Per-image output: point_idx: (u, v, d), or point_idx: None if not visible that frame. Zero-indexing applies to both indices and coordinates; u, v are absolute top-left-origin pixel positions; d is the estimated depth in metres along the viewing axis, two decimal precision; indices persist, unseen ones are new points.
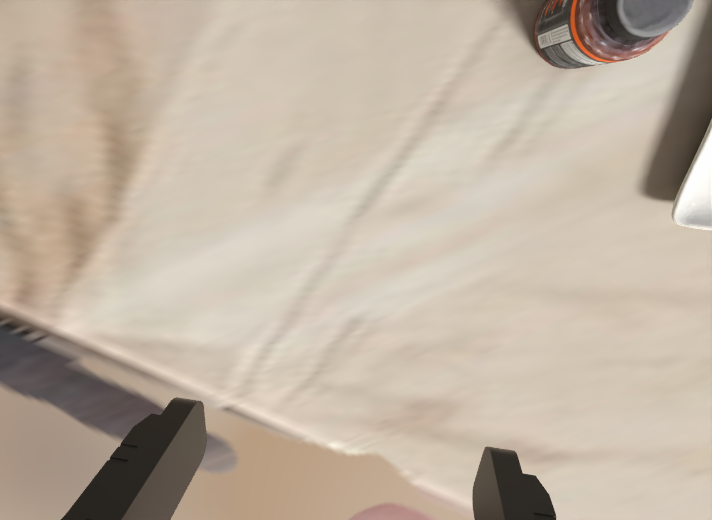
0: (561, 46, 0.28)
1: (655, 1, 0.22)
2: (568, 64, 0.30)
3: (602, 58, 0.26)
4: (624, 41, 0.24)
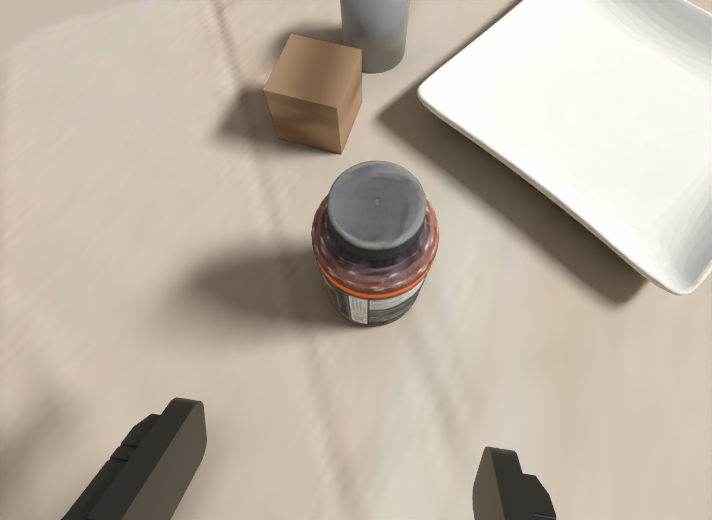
0: (373, 310, 0.21)
1: (380, 207, 0.16)
2: (402, 309, 0.23)
3: (412, 282, 0.18)
4: (406, 254, 0.17)
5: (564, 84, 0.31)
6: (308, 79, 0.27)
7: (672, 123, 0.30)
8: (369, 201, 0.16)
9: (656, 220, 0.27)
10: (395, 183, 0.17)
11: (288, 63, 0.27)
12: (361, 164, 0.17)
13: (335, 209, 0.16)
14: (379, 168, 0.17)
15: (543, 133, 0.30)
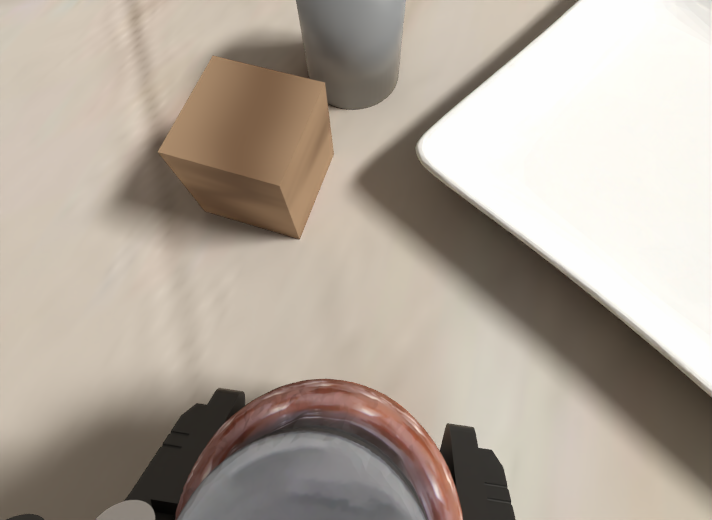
0: None
1: None
2: None
3: None
4: None
5: (640, 130, 0.21)
6: (235, 133, 0.16)
7: None
8: None
9: None
10: (353, 518, 0.06)
11: (204, 105, 0.17)
12: (263, 447, 0.06)
13: None
14: (311, 464, 0.06)
15: (613, 210, 0.19)
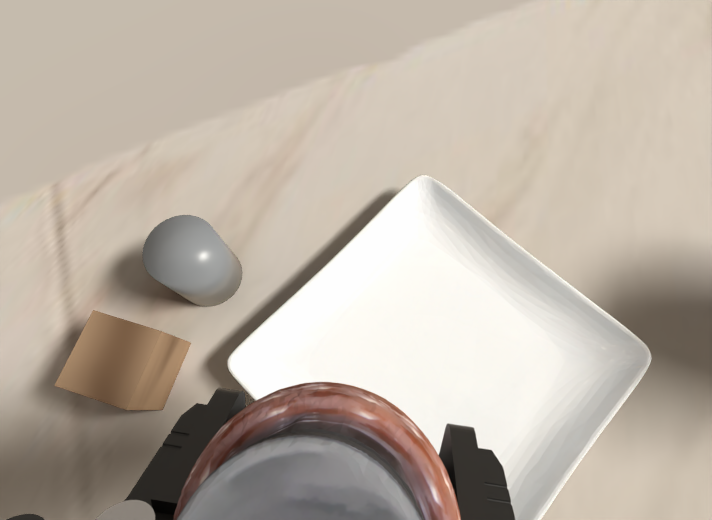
0: None
1: None
2: None
3: None
4: None
5: (392, 327, 0.31)
6: (102, 371, 0.26)
7: (494, 375, 0.30)
8: None
9: None
10: None
11: (85, 350, 0.27)
12: (261, 452, 0.06)
13: None
14: (309, 468, 0.06)
15: None
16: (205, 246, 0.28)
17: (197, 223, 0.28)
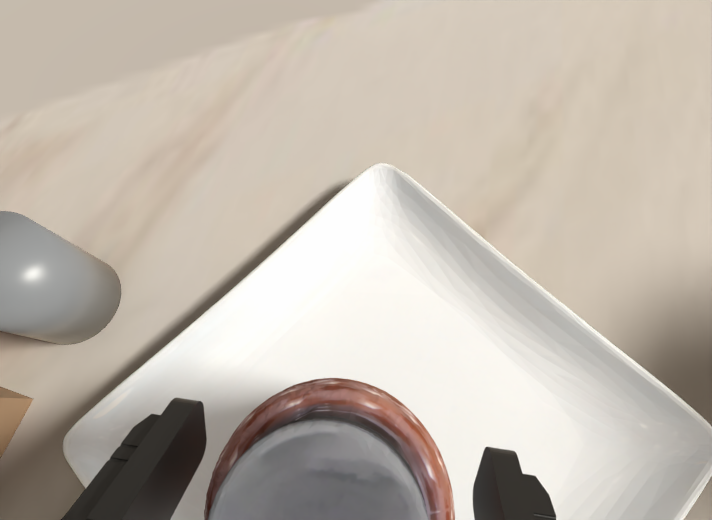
0: None
1: None
2: None
3: None
4: None
5: None
6: None
7: (476, 463, 0.20)
8: None
9: None
10: (360, 488, 0.07)
11: None
12: (286, 433, 0.08)
13: None
14: (325, 445, 0.08)
15: None
16: (24, 260, 0.18)
17: (19, 224, 0.18)
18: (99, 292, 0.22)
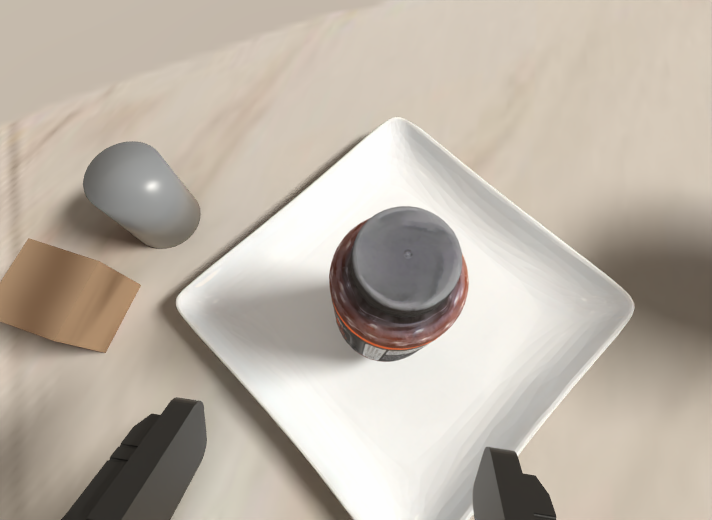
0: (389, 354, 0.20)
1: (412, 261, 0.15)
2: None
3: (437, 337, 0.17)
4: (434, 310, 0.16)
5: None
6: (32, 300, 0.24)
7: (464, 326, 0.28)
8: (400, 254, 0.15)
9: (423, 454, 0.25)
10: (429, 234, 0.15)
11: (16, 278, 0.25)
12: (391, 210, 0.15)
13: (361, 261, 0.15)
14: (411, 215, 0.15)
15: (322, 337, 0.28)
16: (150, 173, 0.26)
17: (145, 150, 0.26)
18: (189, 207, 0.30)
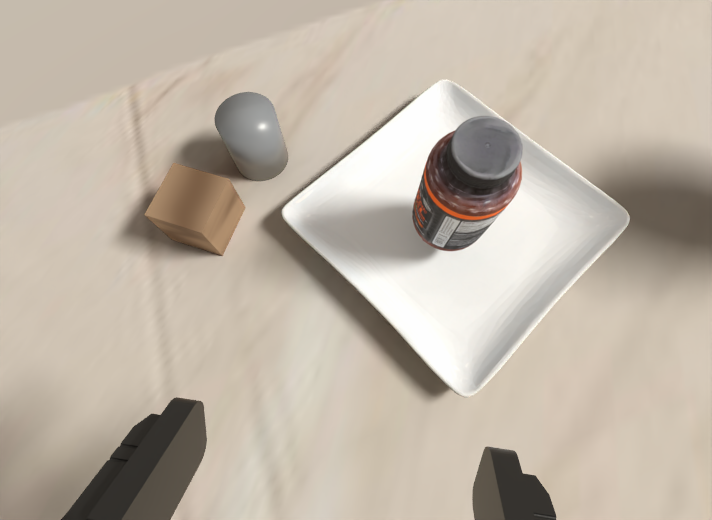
0: (458, 232, 0.28)
1: (490, 149, 0.23)
2: (475, 237, 0.30)
3: (498, 210, 0.25)
4: (499, 187, 0.24)
5: None
6: (182, 205, 0.33)
7: (499, 236, 0.36)
8: (482, 144, 0.23)
9: (470, 325, 0.33)
10: (502, 134, 0.23)
11: (167, 190, 0.33)
12: (478, 117, 0.23)
13: (457, 147, 0.23)
14: (491, 121, 0.23)
15: (390, 244, 0.36)
16: (265, 114, 0.34)
17: (259, 98, 0.35)
18: (284, 147, 0.38)
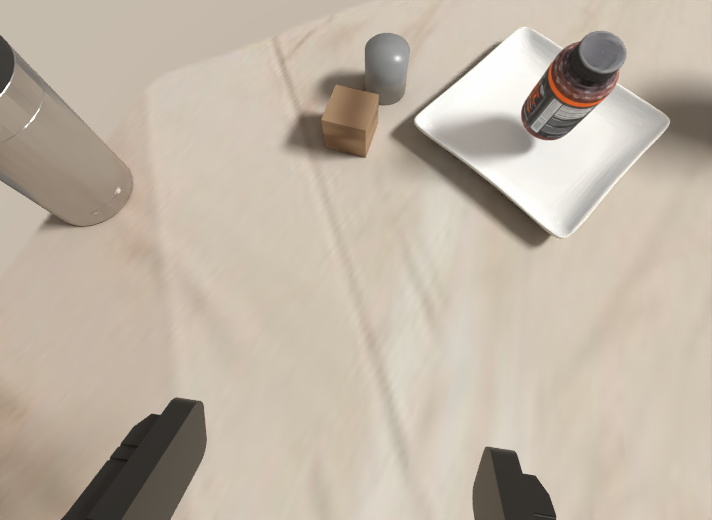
0: (555, 116, 0.41)
1: (604, 54, 0.35)
2: (563, 128, 0.42)
3: (591, 102, 0.38)
4: (599, 84, 0.36)
5: (507, 114, 0.50)
6: (347, 113, 0.45)
7: (572, 139, 0.49)
8: (600, 49, 0.35)
9: (556, 198, 0.46)
10: (615, 46, 0.35)
11: (335, 103, 0.45)
12: (604, 31, 0.35)
13: (583, 46, 0.35)
14: (611, 37, 0.35)
15: (492, 145, 0.48)
16: (402, 48, 0.47)
17: (395, 37, 0.47)
18: None
